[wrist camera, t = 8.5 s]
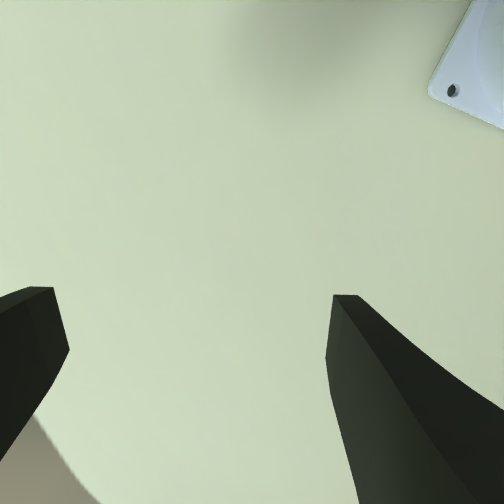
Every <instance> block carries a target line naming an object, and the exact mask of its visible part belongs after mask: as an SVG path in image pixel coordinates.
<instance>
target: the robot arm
mask: <svg viewBox="0 0 504 504" xmlns="http://www.w3.org/2000/svg"><path fill="white" fill-rule="evenodd" d="M452 84H453V85H454V86H455V88H456V90H455V93H454V94H453V95H452V96H451V97H449V96H448V95H447V90H448V87H449V86H450V85H452ZM427 92H428V94H429V96H431V97H432V98H434V99H436V100H438V101H441V102H443V103H445V104H447V105H450V106H452V107H454V108H456V109H458V110H461V111H463V112H465V113H467V114H470V115H472V116H474V117H476V118H479V119H481V120H483V121H485V122H488V123H490V124H492V125H494V126H497V127H499V128H501V129H503V130H504V0H472V2H471V4H470V6H469V8H468V10H467V12H466V13H465V15H464V17H463V19H462V21H461V23H460V25H459V26H458V28H457V30H456V32H455V34H454V36H453V38H452V39H451V41H450V43H449V45H448V47H447V49H446V51H445V52H444V54H443V56H442V58H441V60H440V62H439V64H438V65H437V67H436V69H435V71H434V73H433V75H432V77H431V78H430V80H429V83H428V86H427ZM69 350H70V349H69V345H68V341H67V338H66V334H65V330H64V326H63V322H62V319H61V315H60V311H59V307H58V303H57V300H56V296H55V292H54V288H53V287H31V286H30V287H27V288H24V289H21V290H18V291H15V292H12V293H10V294H7V295H5V296H2V297H0V461H1V459H2V458H3V456H4V455H5V454H6V452H7V451H8V449H9V448H10V447H11V445H12V444H13V442H14V441H15V439H16V438H17V436H18V435H19V433H20V432H21V431H22V429H23V428H24V426H25V425H26V423H27V422H28V420H29V419H30V417H31V416H32V415H33V413H34V412H35V410H36V409H37V407H38V406H39V404H40V403H41V401H42V400H43V398H44V397H45V395H46V394H47V392H48V391H49V389H50V388H51V386H52V384H53V383H54V381H55V379H56V377H57V375H58V373H59V371H60V369H61V367H62V365H63V363H64V361H65V359H66V357H67V355H68V353H69ZM325 359H326V366H327V373H328V380H329V387H330V394H331V398H332V402H333V406H334V409H335V413H336V417H337V421H338V424H339V428H340V432H341V436H342V439H343V443H344V447H345V450H346V454H347V458H348V461H349V465H350V469H351V472H352V476H353V480H354V483H355V487H356V492H357V496H358V500H359V504H504V410H503V409H501V408H500V407H498V406H497V405H495V404H494V403H492V402H491V401H489V400H488V399H486V398H485V397H483V396H482V395H480V394H479V393H477V392H476V391H474V390H473V389H471V388H470V387H469V386H467V385H466V384H464V383H463V382H462V381H460V380H459V379H457V378H456V377H455V376H453V375H452V374H451V373H450V372H448V371H447V370H446V369H444V368H443V367H442V366H440V365H439V364H438V363H436V362H435V361H434V360H433V359H431V358H430V357H429V356H428V355H426V354H425V353H424V352H423V351H421V350H420V349H419V348H418V347H417V346H415V345H414V344H413V343H412V342H411V341H409V340H408V339H407V338H406V337H405V336H404V335H402V334H401V333H400V332H399V331H398V330H397V329H395V328H394V327H393V326H392V325H391V324H390V323H389V322H388V321H386V320H385V319H384V318H383V317H382V316H381V315H380V314H379V313H378V312H376V311H375V310H374V309H373V308H372V307H371V306H370V305H369V304H368V303H366V302H365V301H364V300H363V299H362V298H361V297H359V296H358V295H333V302H332V310H331V318H330V326H329V334H328V341H327V349H326V357H325Z"/></svg>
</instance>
